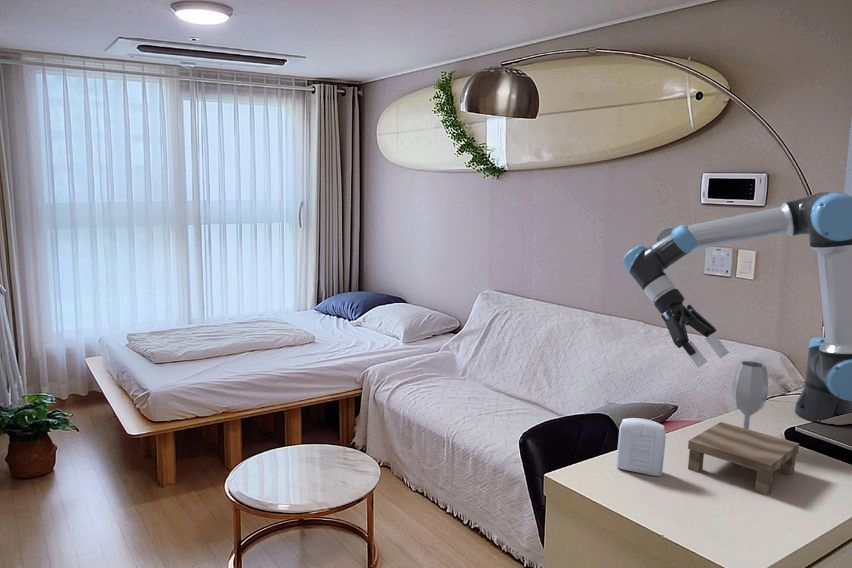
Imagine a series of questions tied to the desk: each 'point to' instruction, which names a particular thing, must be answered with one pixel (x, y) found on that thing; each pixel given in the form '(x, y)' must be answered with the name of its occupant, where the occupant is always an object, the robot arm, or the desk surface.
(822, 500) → the desk surface
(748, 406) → the wineglass
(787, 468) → the footstool
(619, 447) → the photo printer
